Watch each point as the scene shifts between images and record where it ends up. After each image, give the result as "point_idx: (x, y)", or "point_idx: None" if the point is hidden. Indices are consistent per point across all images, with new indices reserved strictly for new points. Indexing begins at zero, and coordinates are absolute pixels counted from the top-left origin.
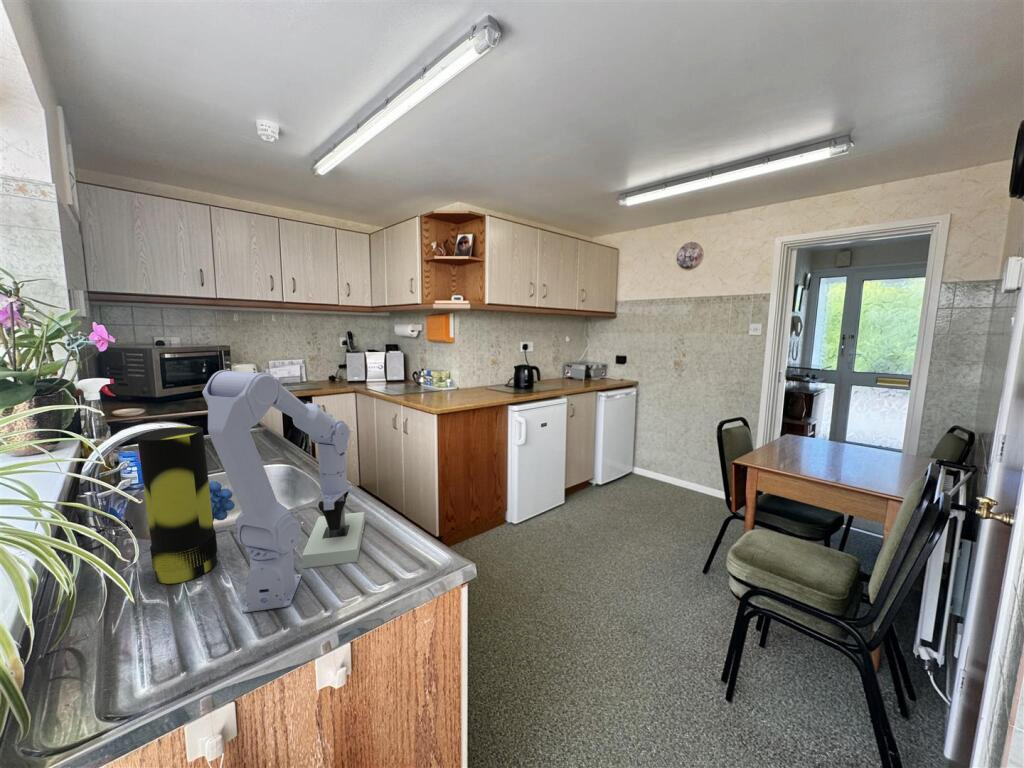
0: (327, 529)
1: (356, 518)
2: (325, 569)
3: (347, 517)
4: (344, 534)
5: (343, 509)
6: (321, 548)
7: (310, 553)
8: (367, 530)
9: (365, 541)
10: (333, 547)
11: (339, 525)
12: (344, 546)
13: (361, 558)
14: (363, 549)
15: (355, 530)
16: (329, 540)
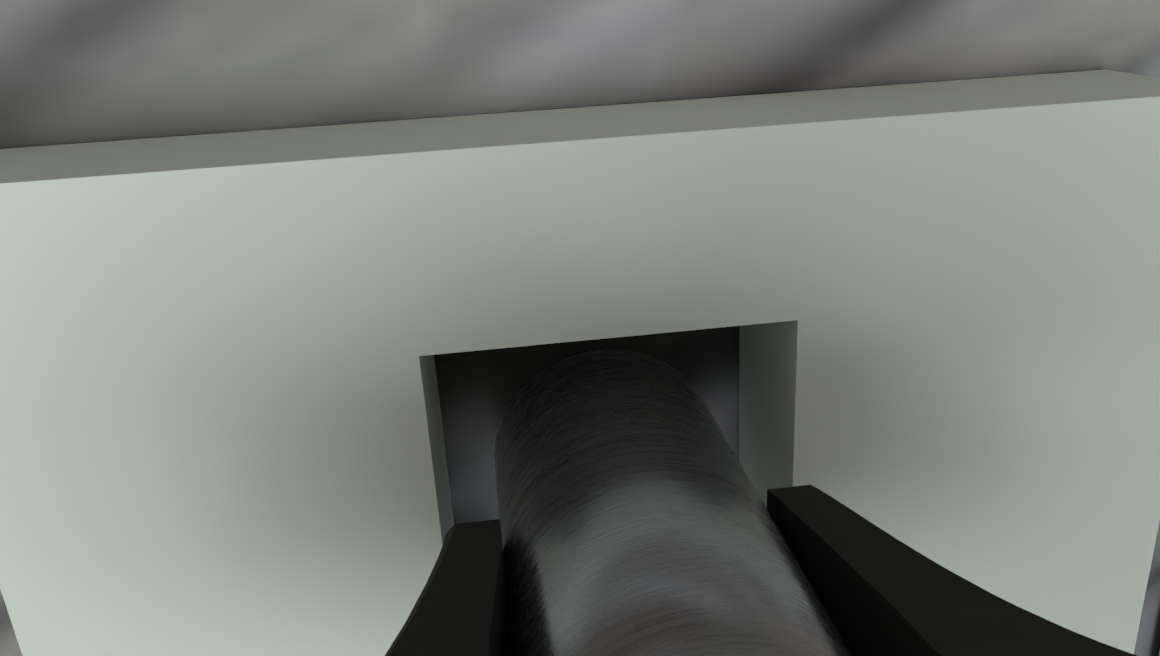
0: None
1: (174, 294)
2: None
3: (128, 456)
4: (651, 369)
5: (787, 643)
6: (1040, 560)
7: (1115, 642)
8: (260, 62)
9: (608, 39)
10: (1074, 425)
11: (856, 513)
12: (1098, 285)
13: (1043, 23)
14: (825, 33)
15: (639, 221)
16: None
